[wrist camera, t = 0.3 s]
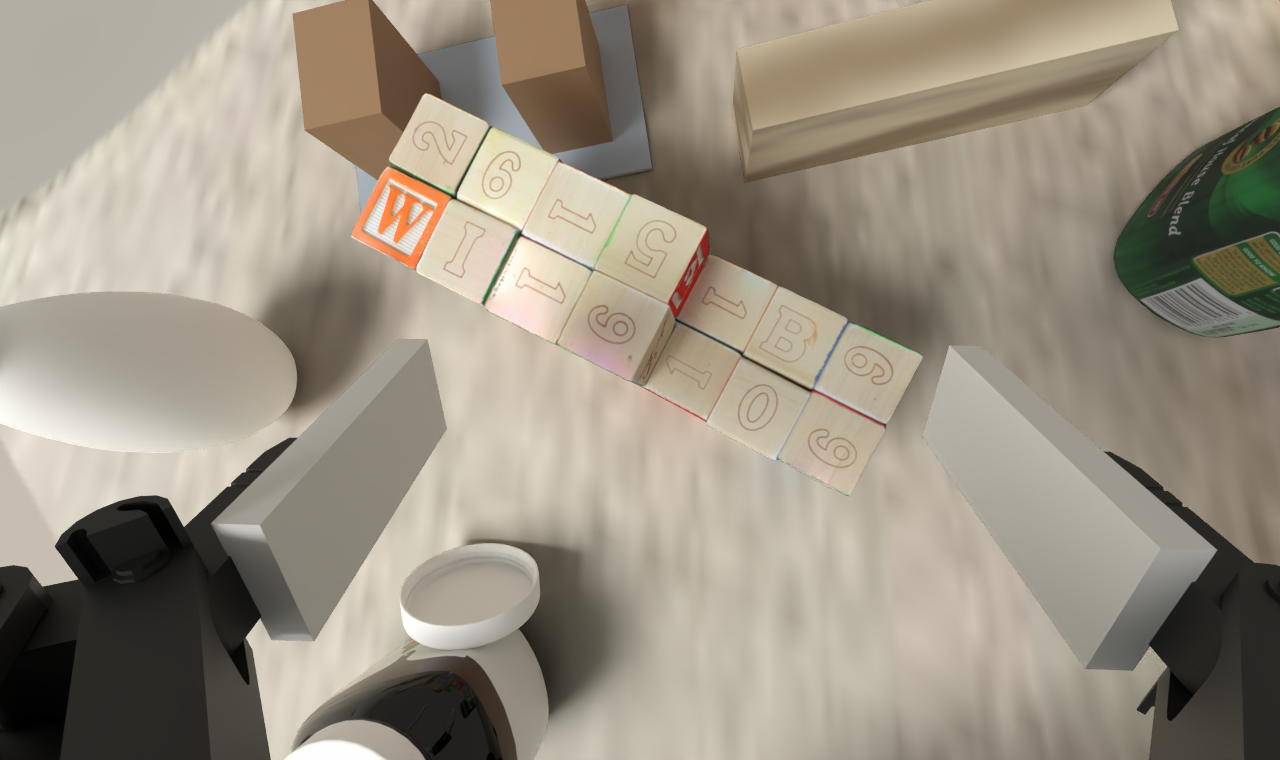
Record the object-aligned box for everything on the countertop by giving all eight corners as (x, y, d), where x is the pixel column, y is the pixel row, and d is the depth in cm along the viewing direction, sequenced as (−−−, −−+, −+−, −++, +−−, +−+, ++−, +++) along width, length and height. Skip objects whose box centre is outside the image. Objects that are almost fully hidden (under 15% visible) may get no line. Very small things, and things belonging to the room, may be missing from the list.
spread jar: (420, 775, 31) (252, 986, 20) (355, 587, 33) (160, 684, 21) (610, 704, 30) (548, 885, 19) (535, 512, 31) (434, 571, 20)
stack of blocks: (861, 373, 30) (966, 348, 17) (806, 475, 30) (873, 520, 18) (528, 206, 33) (419, 85, 20) (479, 299, 33) (342, 232, 21)
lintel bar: (1083, 107, 29) (1178, 30, 23) (745, 183, 31) (753, 130, 25) (1065, 37, 29) (1155, -57, 23) (731, 117, 31) (736, 49, 26)
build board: (652, 169, 32) (635, 98, 24) (365, 227, 34) (271, 177, 27) (627, 8, 32) (603, -108, 25) (348, 74, 34) (252, -15, 27)
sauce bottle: (219, 323, 35) (-300, 230, 17) (333, 313, 34) (-91, 205, 16) (220, 447, 34) (-314, 486, 16) (335, 441, 33) (-99, 475, 15)
